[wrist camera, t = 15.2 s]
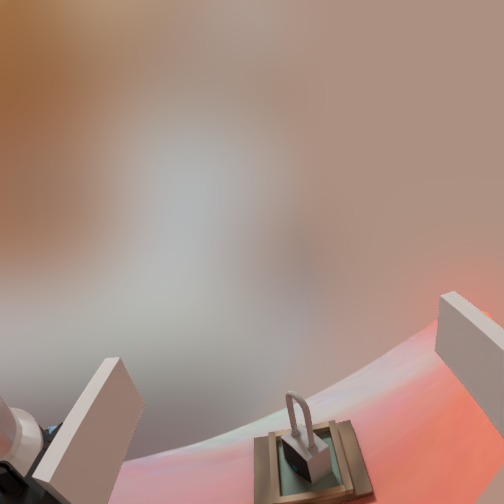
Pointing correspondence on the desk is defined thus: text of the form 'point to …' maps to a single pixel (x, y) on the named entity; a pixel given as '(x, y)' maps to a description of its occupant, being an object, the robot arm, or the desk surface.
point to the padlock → (305, 445)
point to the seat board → (299, 489)
